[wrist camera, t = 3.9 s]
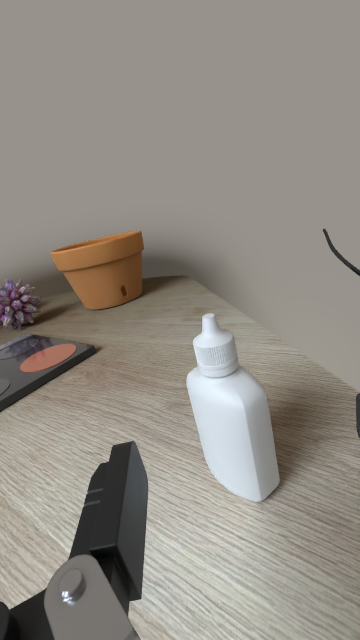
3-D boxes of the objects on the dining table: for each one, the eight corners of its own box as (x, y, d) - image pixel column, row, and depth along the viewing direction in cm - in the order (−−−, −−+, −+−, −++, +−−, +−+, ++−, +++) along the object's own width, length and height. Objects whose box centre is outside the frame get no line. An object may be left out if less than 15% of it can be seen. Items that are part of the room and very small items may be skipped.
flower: (28, 324, 79) (61, 310, 74) (-11, 344, 68) (24, 329, 63) (4, 283, 76) (37, 266, 71) (-40, 297, 65) (-6, 278, 60)
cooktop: (30, 338, 61) (28, 332, 61) (96, 352, 47) (93, 344, 47) (-89, 396, 47) (-94, 389, 47) (-46, 439, 33) (-52, 429, 33)
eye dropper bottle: (256, 436, 24) (231, 294, 20) (287, 498, 19) (263, 323, 15) (203, 450, 24) (167, 310, 20) (220, 517, 19) (176, 346, 15)
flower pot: (151, 280, 87) (137, 228, 82) (161, 298, 67) (144, 230, 62) (78, 300, 84) (59, 247, 79) (66, 324, 65) (40, 256, 60)
